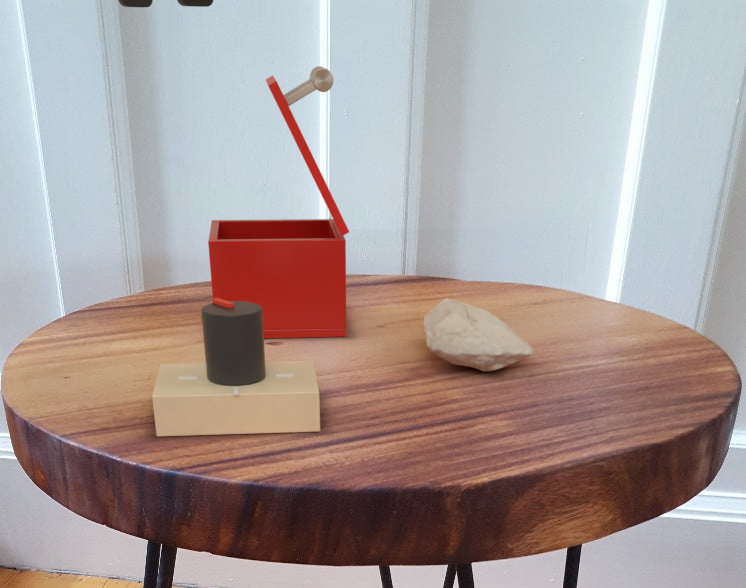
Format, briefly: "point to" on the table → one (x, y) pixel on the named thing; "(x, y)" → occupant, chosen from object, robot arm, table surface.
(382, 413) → the table surface
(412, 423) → the table surface
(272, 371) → the panel
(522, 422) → the table surface
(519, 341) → the stone
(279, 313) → the red open box
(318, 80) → the box lid
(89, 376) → the table surface
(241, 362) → the valve knob
